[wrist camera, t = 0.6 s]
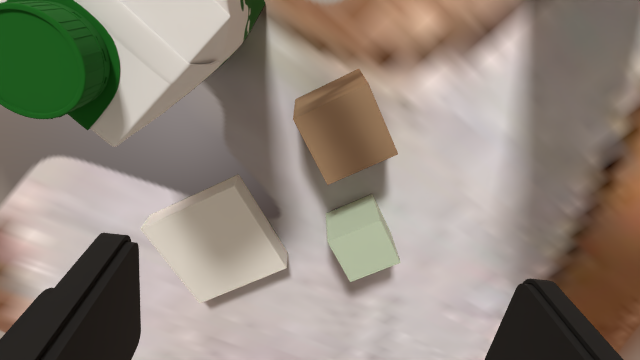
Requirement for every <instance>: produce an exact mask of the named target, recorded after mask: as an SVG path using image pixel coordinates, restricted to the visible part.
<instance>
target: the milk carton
mask: <svg viewBox="0 0 640 360" xmlns="http://www.w3.org/2000/svg"><path fill="white" fill-rule="evenodd" d="M264 5H265V2H264V0H0V104H1V105H2V106H4V107H5V108H7V109H9V110H11V111H13V112H15V113H17V114H20V115H23V116H25V117H30V118H36V119H53V118H56V117H61V116H63V115H65V114H68V115H70V116H71V117H72V118H73V119H74V120H76V121H77V122H78V123H79V124H80V125H82V126H83V127H84V128H85V129H87V130H88V129H92V130H93V131H94V132H95V133H96V134H97V135H99V136H100V137H101V138H102V139H103V140H105V141H106V142H107V143H109V144H110V145H111V146H113V147H116V146H118V145H119V144H120V143H122V142H123V141H124V140H126V139H127V138H128V137H130V136H131V135H133V134H134V133H136V132H137V131H139V130H140V129H141V128H143V127H144V126H146V125H147V124H149V123H150V122H151V121H153V120H154V119H156V118H157V117H158V116H160V115H161V114H163V113H164V112H165V111H167V110H168V109H169V108H170V107H171V106H173V105H174V104H175V103H176V102H178V101H179V100H180V99H181V98H183V97H184V96H185V95H187V94H188V93H189V92H191V91H192V90H193V89H194V88H195V87H196V86H198V85H199V84H200V83H201V82H203V81H204V80H205V79H206V78H207V77H208V76H210V75H211V74H212V73H213V72H214V71H215V70H216V69H218V68H219V67H220V66H221V65H222V64H223V63H224V62H225V61H226V60H227V59H228V58H229V57H230V56H231V55H232V54H233V53H234V52H235V51H236V50H237V49H238V48H239V47H240V45H241V44H242V43H243V42H244V40H245V39H246V37H247V36H248V34H249V33H250V31H251V29H252V27H253V25H254V23H255V21H256V20H257V18H258V16H259V14H260V12H261V11H262V9H263V7H264Z"/></svg>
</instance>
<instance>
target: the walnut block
mask: <svg viewBox="0 0 640 360" xmlns="http://www.w3.org/2000/svg"><path fill="white" fill-rule="evenodd" d="M293 120H294V122H295V124H296V126H297V128H298V130H299V131H300V133H301V135H302V137H303V139H304V141H305V143H306V145H307V147H308V149H309V151H310V152H311V154H312V156H313V158H314V160H315V162H316V164H317V166H318V168H319V170H320V172H321V173H322V175H323V177H324V179H325V181H326V183H327V185H329V184H331V183H333V182H336V181H338V180H340V179H343V178H345V177H347V176H349V175H352V174H354V173H356V172H359V171H361V170H363V169H365V168H368V167H370V166H372V165H375V164H377V163H379V162H381V161H384V160H386V159H388V158H391V157H393V156H395V155H397V154H398V153H397V150H396V148H395V145H394V143H393V141H392V138H391V136H390V134H389V131H388V129H387V126H386V124H385V122H384V119H383V117H382V115H381V112H380V110H379V108H378V105H377V103H376V100H375V98H374V96H373V93H372V91H371V89H370V86H369V84H368V82H367V81H366V79H365V77H364V76H363V74H362V73H361V71H360V70H359V69H357V70H355V71H353V72H351V73H349V74H347V75H345V76H343V77H341V78H339V79H337V80H335V81H332V82H330V83H328V84H326V85H324V86H322V87H320V88H318V89H316V90H314V91H312V92H310V93H308V94H306V95H303V96H301V97H299V98H297V99H295V108H294V116H293Z"/></svg>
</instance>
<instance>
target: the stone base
mask: <svg viewBox="0 0 640 360" xmlns="http://www.w3.org/2000/svg"><path fill="white" fill-rule="evenodd" d="M140 229H141V230H142V232H143V233H144V234H145V235H146V237H147V238H148V239H149V240H150V242H151V243H152V244H153V245H154V247H155V248H156V249H157V250H158V252H159V253H160V254H161V256H162V257H163V258H164V259H165V261H166V262H167V263H168V264H169V266H170V267H171V268H172V269H173V271H174V272H175V273H176V274H177V276H178V277H179V278H180V279H181V281H182V282H183V283H184V285H185V286H186V287H187V288H188V290H189V291H190V292H191V293H192V295H193V296H194V297H195V298H196V300H197V301H198V302H199V303H202V302H205V301H207V300H210V299H212V298H215V297H217V296H219V295H222V294H224V293H227V292H229V291H232V290H234V289H237V288H239V287H242V286H244V285H246V284H249V283H251V282H254V281H256V280H259V279H261V278H264V277H266V276H269V275H271V274H274V273H276V272H278V271H281V270H283V269H286V268H287V258H288V252H287V251H286V249H285V248H284V246H283V244H282V243H281V241H280V240H279V238H278V236H277V235H276V233H275V232H274V230H273V228H272V227H271V225H270V224H269V222H268V220H267V219H266V217H265V216H264V214H263V212H262V211H261V209H260V208H259V206H258V204H257V203H256V201H255V199H254V198H253V196H252V195H251V193H250V192H249V190H248V188H247V187H246V185H245V184H244V182H243V180H242V179H241V177H240V175H236V176H234V177H232V178H229V179H227V180H225V181H223V182H221V183H218V184H216V185H214V186H212V187H210V188H208V189H205V190H203V191H201V192H199V193H197V194H195V195H192V196H190V197H188V198H186V199H184V200H182V201H179V202H177V203H175V204H173V205H171V206H168V207H166V208H164V209H162V210H160V211H158V212H155V213H153V214H151V215H150V216H149V217H148V219H147V220H146V221H145V223H144V224H143V226H142V227H141V228H140Z"/></svg>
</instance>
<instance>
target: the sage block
mask: <svg viewBox="0 0 640 360" xmlns="http://www.w3.org/2000/svg"><path fill="white" fill-rule="evenodd" d="M326 226H327V241H328V243H329V245H330V247H331V249H332V251H333V252H334V254H335V256H336V258H337V259H338V261H339V263H340V265H341V267H342V268H343V270H344V272H345V274H346V275H347V277H348V279H349V281H350V282H352V281H355V280H357V279H360V278H362V277H365V276H368V275H370V274H373V273H375V272H378V271H381V270H383V269H386V268H388V267H391V266H393V265H396V264H399V263H401V262H400V259H399V256H398V253H397V250H396V247H395V244H394V241H393V238H392V235H391V232H390V230H389V228H388V226H387V224H386V222H385V220H384V218H383V215H382V213H381V211H380V209H379V207H378V205H377V203H376V201H375V199H374V196H373V194H371V195H368V196H366V197H364V198H361V199H359V200H357V201H354V202H352V203H350V204H347V205H345V206H343V207H340V208H338V209H335V210H333V211H331V212H328V213H326Z"/></svg>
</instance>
